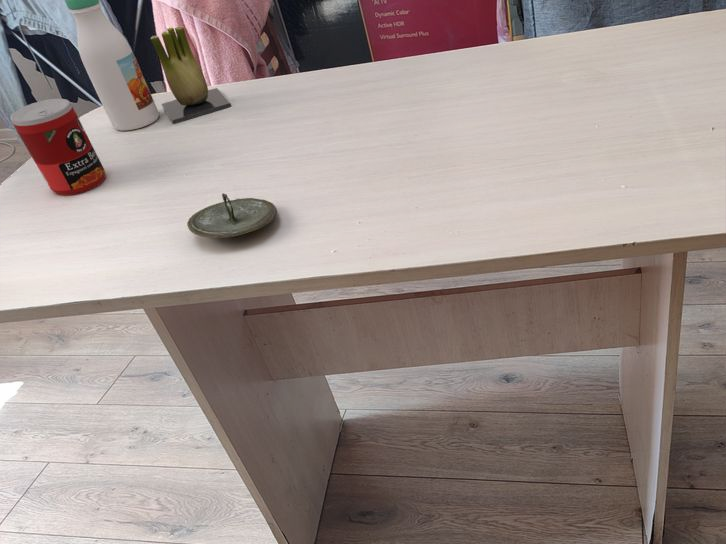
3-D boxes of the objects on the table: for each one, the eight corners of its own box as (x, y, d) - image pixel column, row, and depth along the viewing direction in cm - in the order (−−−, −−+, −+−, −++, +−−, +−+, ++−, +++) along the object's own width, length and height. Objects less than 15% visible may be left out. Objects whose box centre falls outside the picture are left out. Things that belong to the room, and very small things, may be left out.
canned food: (81, 198, 94) (39, 122, 87) (39, 194, 97) (-5, 120, 90) (119, 172, 99) (82, 98, 92) (78, 169, 102) (40, 97, 95)
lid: (188, 262, 80) (169, 232, 76) (206, 203, 86) (189, 172, 82) (274, 257, 80) (260, 227, 75) (287, 198, 85) (275, 167, 81)
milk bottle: (131, 134, 111) (70, 2, 97) (104, 128, 114) (42, 0, 101) (169, 115, 115) (115, -13, 102) (142, 110, 119) (86, -15, 106)
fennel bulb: (178, 111, 114) (148, 37, 107) (177, 102, 118) (148, 29, 110) (213, 103, 115) (185, 29, 108) (211, 94, 119) (184, 21, 111)
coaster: (173, 123, 112) (171, 120, 112) (162, 107, 119) (161, 103, 119) (231, 106, 115) (230, 102, 115) (218, 91, 122) (216, 87, 122)
